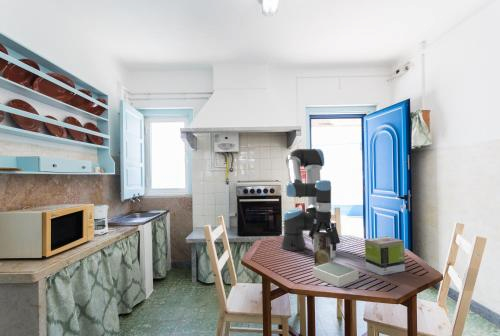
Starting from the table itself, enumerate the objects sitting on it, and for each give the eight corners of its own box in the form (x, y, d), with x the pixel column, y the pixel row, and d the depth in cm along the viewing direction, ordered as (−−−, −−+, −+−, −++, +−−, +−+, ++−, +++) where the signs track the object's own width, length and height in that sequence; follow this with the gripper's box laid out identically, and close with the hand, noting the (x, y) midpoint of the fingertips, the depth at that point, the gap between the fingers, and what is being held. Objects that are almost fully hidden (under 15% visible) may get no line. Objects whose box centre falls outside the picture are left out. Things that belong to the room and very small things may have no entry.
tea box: (388, 264, 139) (388, 235, 139) (405, 271, 130) (405, 240, 130) (364, 268, 134) (364, 238, 134) (381, 276, 125) (380, 243, 125)
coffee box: (333, 263, 141) (333, 232, 141) (332, 267, 135) (332, 235, 135) (315, 261, 144) (315, 231, 144) (313, 265, 138) (313, 233, 138)
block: (312, 276, 125) (312, 267, 125) (332, 269, 133) (332, 260, 133) (338, 287, 113) (338, 276, 113) (358, 279, 121) (358, 269, 121)
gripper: (301, 208, 147) (301, 249, 147) (337, 214, 128) (338, 261, 128) (311, 207, 151) (311, 247, 151) (347, 212, 132) (347, 258, 132)
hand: (323, 254), depth 140 cm, fingers closed on coffee box, 11 cm apart
